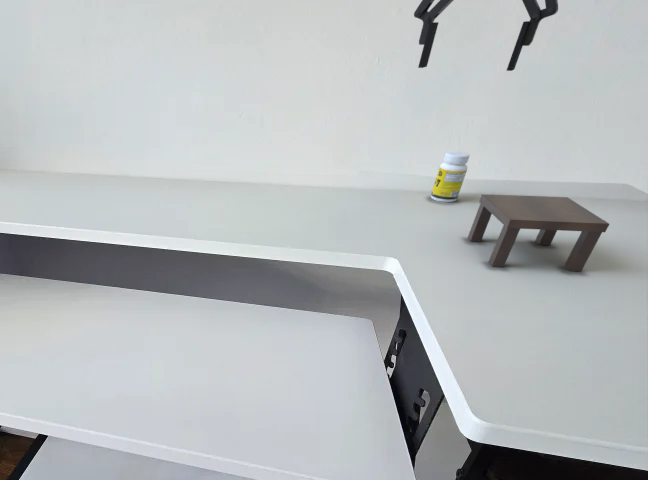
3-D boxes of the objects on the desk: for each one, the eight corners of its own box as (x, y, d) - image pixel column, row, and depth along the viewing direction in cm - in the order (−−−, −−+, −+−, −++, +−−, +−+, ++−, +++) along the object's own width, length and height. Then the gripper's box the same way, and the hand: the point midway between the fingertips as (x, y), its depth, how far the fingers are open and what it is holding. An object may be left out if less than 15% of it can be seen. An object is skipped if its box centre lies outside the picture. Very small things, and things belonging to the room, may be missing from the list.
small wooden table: (546, 241, 79) (567, 197, 75) (583, 272, 70) (609, 223, 66) (465, 237, 81) (481, 194, 77) (490, 267, 72) (510, 219, 68)
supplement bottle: (430, 194, 100) (443, 150, 95) (456, 196, 99) (471, 151, 94) (430, 201, 97) (444, 155, 92) (457, 203, 95) (473, 157, 90)
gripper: (419, -94, 76) (383, 67, 89) (625, -120, 63) (548, 73, 76) (432, -88, 81) (396, 64, 93) (626, -111, 68) (554, 69, 80)
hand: (464, 68), depth 84 cm, fingers open, 13 cm apart
